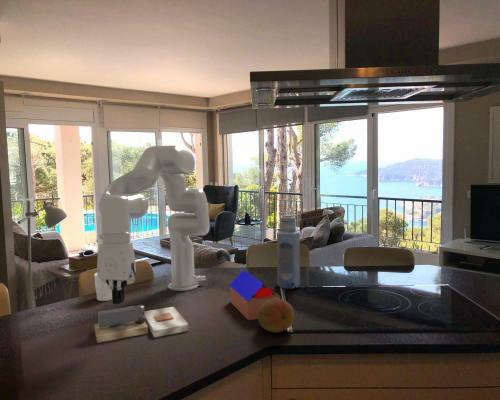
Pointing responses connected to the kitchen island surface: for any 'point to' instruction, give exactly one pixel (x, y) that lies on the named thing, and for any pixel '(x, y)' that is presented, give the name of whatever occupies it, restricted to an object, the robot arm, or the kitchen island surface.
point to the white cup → (102, 290)
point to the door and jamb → (145, 326)
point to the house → (250, 295)
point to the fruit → (276, 315)
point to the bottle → (288, 253)
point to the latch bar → (121, 316)
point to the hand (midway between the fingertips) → (118, 302)
